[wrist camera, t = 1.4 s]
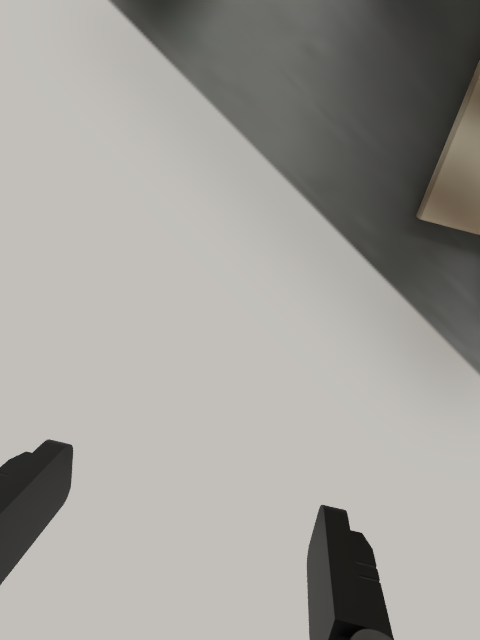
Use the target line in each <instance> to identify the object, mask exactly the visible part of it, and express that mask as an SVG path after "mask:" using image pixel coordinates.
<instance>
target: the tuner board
mask: <svg viewBox="0 0 480 640" xmlns="http://www.w3.org/2000/svg"><path fill="white" fill-rule="evenodd" d="M416 217H417V218H419V219H421V220H425V221H428V222H432V223H436V224H440V225H444V226H447V227H451V228H455V229H459V230H463V231H467V232H470V233H474V234H478V235H480V60H479V62H478V65H477V67H476V70H475V72H474V75H473V77H472V80H471V82H470V85H469V87H468V89H467V92H466V94H465V97H464V99H463V102H462V104H461V107H460V109H459V112H458V114H457V116H456V119H455V121H454V124H453V126H452V129H451V131H450V134H449V136H448V138H447V141H446V143H445V146H444V148H443V151H442V153H441V156H440V158H439V161H438V163H437V165H436V168H435V170H434V173H433V175H432V178H431V180H430V183H429V185H428V187H427V190H426V192H425V195H424V197H423V200H422V202H421V205H420V207H419V210H418V212H417V214H416Z"/></svg>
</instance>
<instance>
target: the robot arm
mask: <svg viewBox="0 0 480 640" xmlns="http://www.w3.org/2000/svg"><path fill="white" fill-rule="evenodd" d="M72 459H73V447H72V445H70V444H66V443H62V442H58V441H54V440H46V441H45V442H44V443H42V444H41V445H40V446H39V447H38V448H37V449H36V450H35V451H34V452H33V453H30V452H24V453H22V454H20V455H18V456H16V457H14V458H12V459H10V460H8V461H7V462H6V463H5V464H3V465H2V466H1V467H0V585H1V583H2V582H3V581H4V579H5V578H6V577H7V576H8V574H9V573H10V572H11V571H12V569H13V568H14V567H15V565H16V564H17V563H18V562H19V560H20V559H21V558H22V556H23V555H24V554H25V553H26V551H27V550H28V549H29V548H30V546H31V545H32V544H33V543H34V541H35V540H36V539H37V537H38V536H39V535H40V533H41V532H42V531H43V530H44V529H45V527H46V526H47V525H48V523H49V522H50V521H51V520H52V518H53V517H54V516H55V514H56V513H57V512H58V511H59V509H60V508H61V507H62V506H63V504H64V502H65V501H66V499H67V497H68V494H69V491H70V487H71V476H72V475H71V474H72ZM379 580H380V579H379V575H378V571H377V569H376V562H375V558H374V554H373V549H372V548H371V546H370V545H369V543H368V542H367V540H366V538H365V537H364V535H363V534H362V533H360V532H355V531H351V530H350V526H349V521H348V516H347V512H346V510H342V509H338V508H333V507H329V506H325V505H321V506H320V509H319V512H318V515H317V519H316V522H315V526H314V530H313V533H312V537H311V541H310V544H309V549H308V556H307V582H308V609H309V635H310V640H394V638H393V635H392V630H391V626H390V622H389V618H388V613H387V609H386V605H385V601H384V596H383V592H382V588H381V584H380V583H379Z"/></svg>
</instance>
